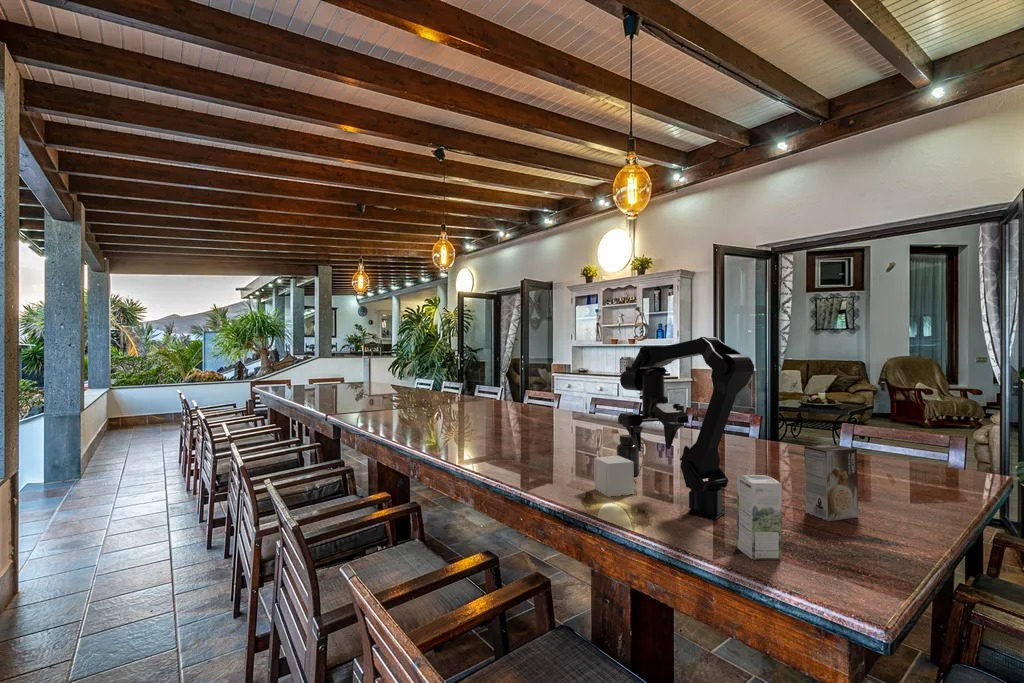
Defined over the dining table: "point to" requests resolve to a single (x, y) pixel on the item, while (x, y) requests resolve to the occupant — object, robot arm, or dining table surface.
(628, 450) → the supplement bottle
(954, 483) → the dining table surface
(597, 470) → the gray cube
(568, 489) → the dining table surface
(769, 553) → the syrup box
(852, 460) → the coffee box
